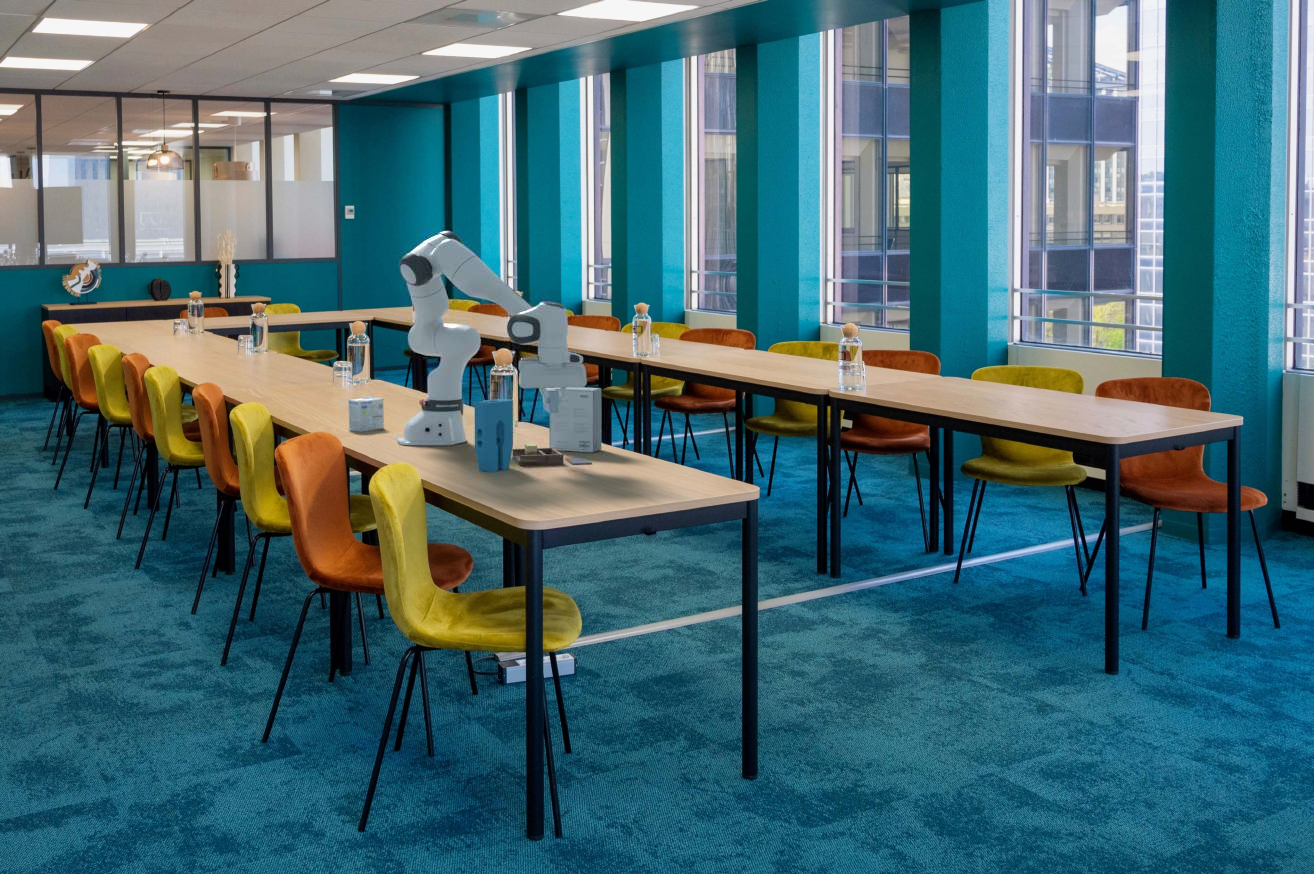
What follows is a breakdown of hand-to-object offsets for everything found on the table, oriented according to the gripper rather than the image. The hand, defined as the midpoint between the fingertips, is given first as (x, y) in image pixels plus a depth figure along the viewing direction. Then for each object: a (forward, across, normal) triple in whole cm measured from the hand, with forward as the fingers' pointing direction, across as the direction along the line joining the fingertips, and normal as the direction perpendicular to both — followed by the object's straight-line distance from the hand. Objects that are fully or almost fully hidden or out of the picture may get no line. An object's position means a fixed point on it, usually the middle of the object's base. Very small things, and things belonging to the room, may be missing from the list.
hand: (552, 402), depth 375 cm
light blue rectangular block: (+3, 0, +2) cm, 4 cm away
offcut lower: (+17, -6, +5) cm, 19 cm away
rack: (+18, -4, +2) cm, 19 cm away
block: (+18, -19, -8) cm, 28 cm away
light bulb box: (+19, -48, +79) cm, 94 cm away
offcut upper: (+15, -6, +5) cm, 17 cm away
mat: (+18, +8, 0) cm, 20 cm away
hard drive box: (+19, +12, +21) cm, 30 cm away
